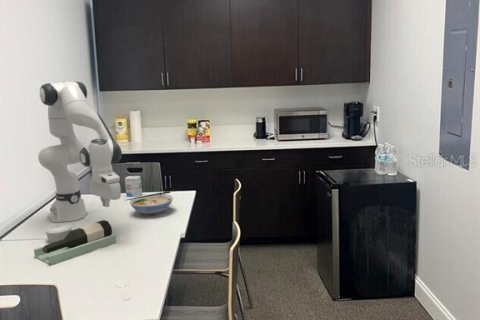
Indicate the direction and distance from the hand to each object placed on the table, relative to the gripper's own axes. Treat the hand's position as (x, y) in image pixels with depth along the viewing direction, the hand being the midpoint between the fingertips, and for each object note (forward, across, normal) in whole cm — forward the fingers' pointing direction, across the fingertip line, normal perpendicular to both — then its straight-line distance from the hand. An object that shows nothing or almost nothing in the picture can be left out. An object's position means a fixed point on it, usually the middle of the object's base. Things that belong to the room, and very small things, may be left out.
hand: (106, 206), depth 211 cm
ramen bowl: (+15, -16, +36) cm, 42 cm away
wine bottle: (+11, -2, 0) cm, 11 cm away
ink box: (+15, -54, +51) cm, 76 cm away
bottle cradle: (+15, 0, -16) cm, 22 cm away
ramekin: (+15, -19, -14) cm, 28 cm away
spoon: (+16, +48, -25) cm, 57 cm away
